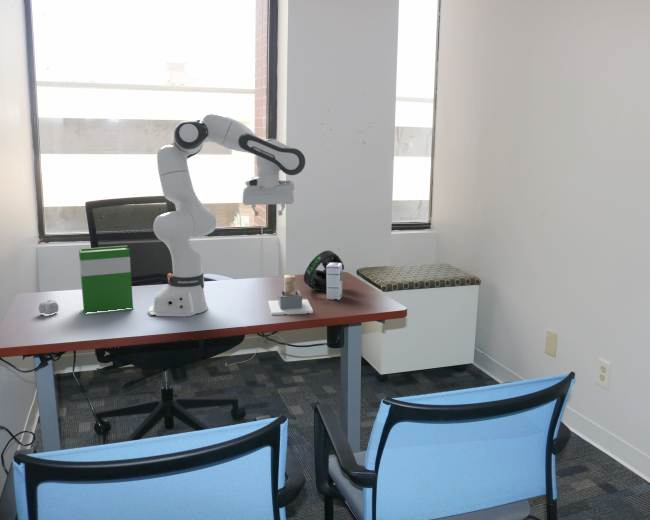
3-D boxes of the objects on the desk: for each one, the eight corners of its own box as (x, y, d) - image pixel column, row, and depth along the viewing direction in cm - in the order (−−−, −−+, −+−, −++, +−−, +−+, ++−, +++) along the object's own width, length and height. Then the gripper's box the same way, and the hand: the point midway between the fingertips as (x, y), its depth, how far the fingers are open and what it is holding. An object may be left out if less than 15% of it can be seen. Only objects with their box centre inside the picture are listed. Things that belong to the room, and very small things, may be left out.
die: (59, 313, 237) (58, 300, 236) (48, 317, 233) (47, 304, 232) (50, 311, 240) (49, 299, 238) (39, 315, 235) (37, 302, 234)
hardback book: (130, 304, 249) (126, 245, 244) (133, 309, 243) (129, 249, 238) (83, 309, 242) (78, 249, 237) (84, 314, 236) (79, 252, 231)
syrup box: (340, 300, 257) (340, 265, 254) (325, 299, 258) (326, 265, 255) (342, 296, 263) (342, 262, 260) (328, 295, 264) (328, 262, 261)
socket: (271, 315, 237) (271, 300, 235) (268, 303, 252) (267, 288, 251) (313, 313, 239) (313, 298, 238) (307, 301, 255) (307, 287, 253)
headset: (333, 303, 283) (307, 287, 258) (313, 285, 290) (285, 268, 264) (358, 272, 283) (334, 253, 257) (337, 255, 289) (312, 235, 264)
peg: (285, 307, 243) (285, 277, 241) (284, 304, 247) (284, 275, 244) (295, 306, 244) (295, 277, 241) (294, 304, 248) (294, 274, 245)
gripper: (293, 179, 250) (293, 213, 253) (241, 180, 247) (242, 214, 250) (295, 181, 244) (295, 216, 247) (242, 181, 241) (243, 217, 244)
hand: (268, 215), depth 248 cm, fingers open, 8 cm apart
